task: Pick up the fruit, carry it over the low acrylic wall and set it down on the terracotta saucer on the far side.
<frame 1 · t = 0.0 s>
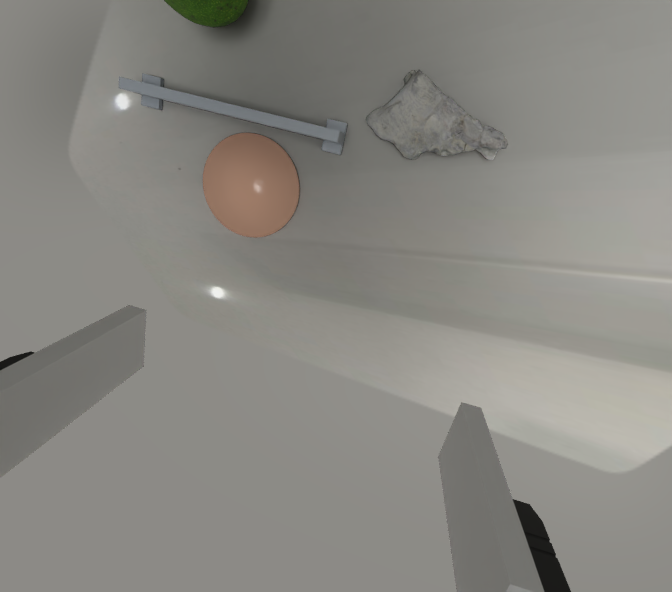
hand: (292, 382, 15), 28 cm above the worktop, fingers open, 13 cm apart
acrylic wall: (243, 114, 38), on the worktop
stone: (430, 126, 36), on the worktop
saucer: (251, 187, 41), on the worktop
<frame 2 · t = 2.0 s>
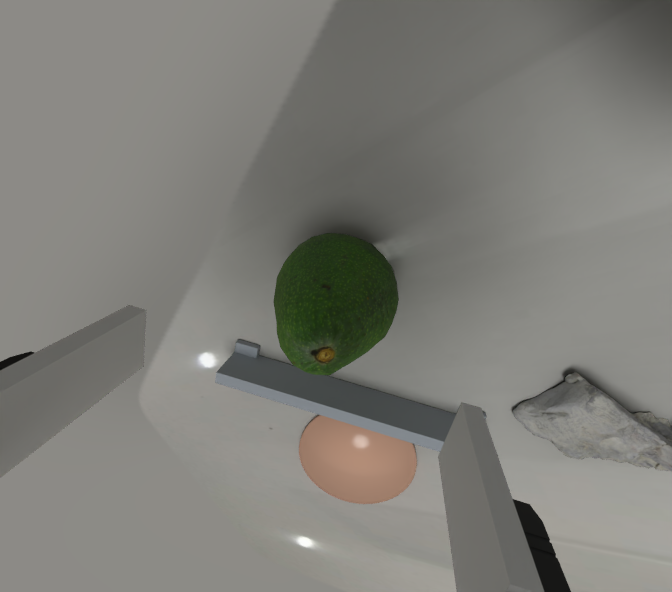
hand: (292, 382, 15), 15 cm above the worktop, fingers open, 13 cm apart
acrylic wall: (354, 388, 32), on the worktop
stone: (592, 413, 30), on the worktop
saucer: (356, 455, 35), on the worktop
fruit: (347, 273, 29), on the worktop
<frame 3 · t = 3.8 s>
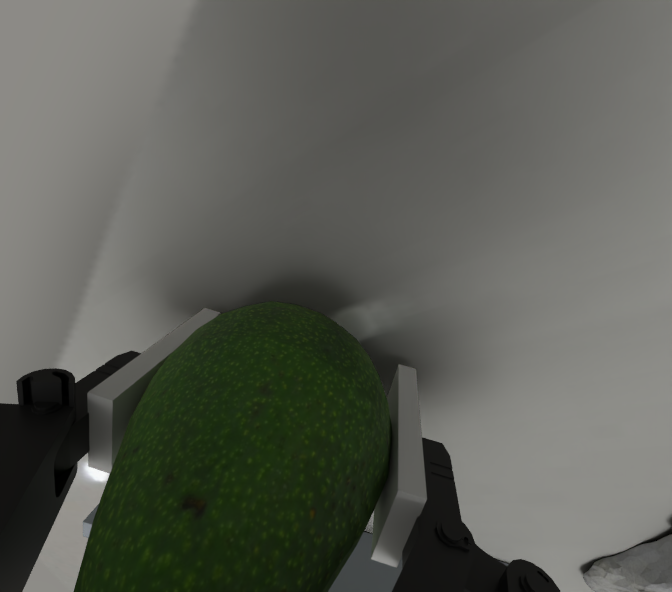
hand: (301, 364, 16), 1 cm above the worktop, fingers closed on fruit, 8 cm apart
acrylic wall: (323, 525, 20), on the worktop
fruit: (306, 353, 17), on the worktop, touching gripper
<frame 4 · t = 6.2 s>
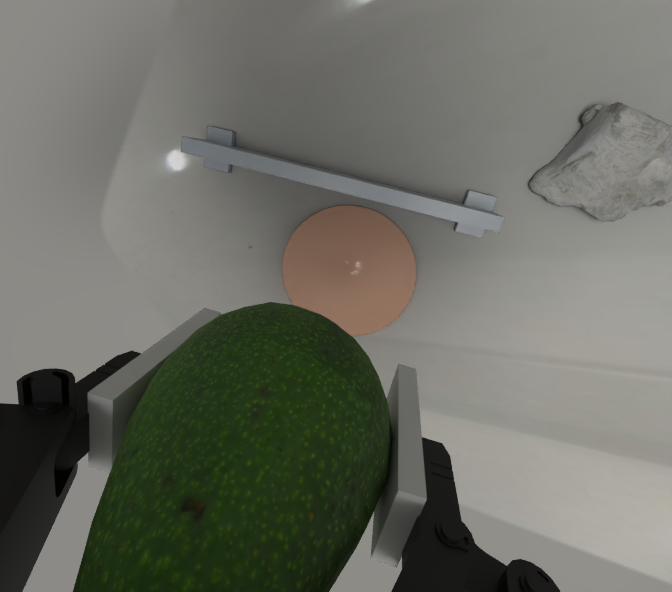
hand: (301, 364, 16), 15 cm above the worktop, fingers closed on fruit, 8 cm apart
acrylic wall: (344, 181, 28), on the worktop
stone: (624, 168, 25), on the worktop
saucer: (348, 273, 30), on the worktop
fruit: (306, 354, 17), point 14 cm above the worktop, touching gripper
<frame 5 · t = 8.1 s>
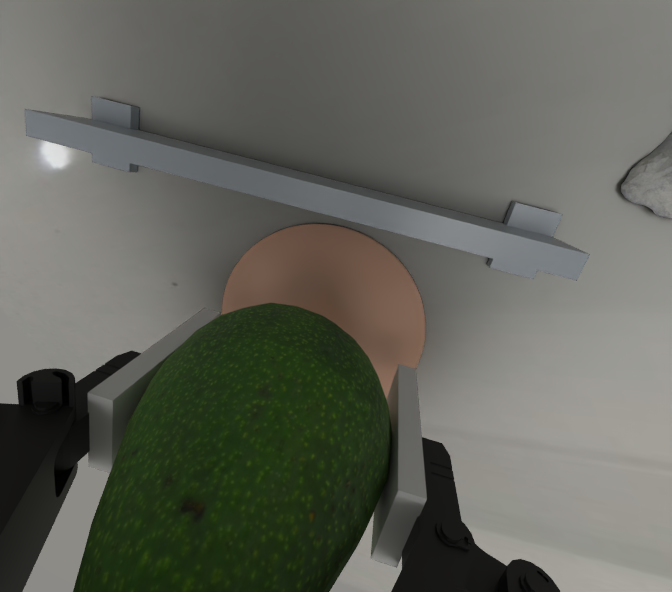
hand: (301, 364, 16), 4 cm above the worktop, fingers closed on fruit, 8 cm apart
acrylic wall: (312, 185, 18), on the worktop
saucer: (321, 325, 20), on the worktop
fruit: (306, 354, 17), point 3 cm above the worktop, touching gripper
when the fingers open (2 cm above the worktop, at t = 9.0 s): fruit stays where it is, resting on saucer.
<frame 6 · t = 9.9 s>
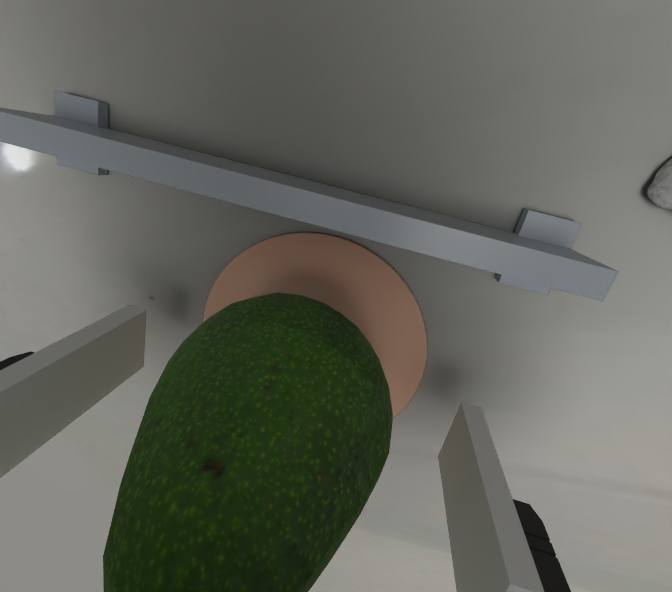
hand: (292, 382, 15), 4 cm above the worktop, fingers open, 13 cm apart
acrylic wall: (300, 190, 16), on the worktop
saucer: (311, 343, 18), on the worktop
fruit: (310, 344, 18), resting on saucer
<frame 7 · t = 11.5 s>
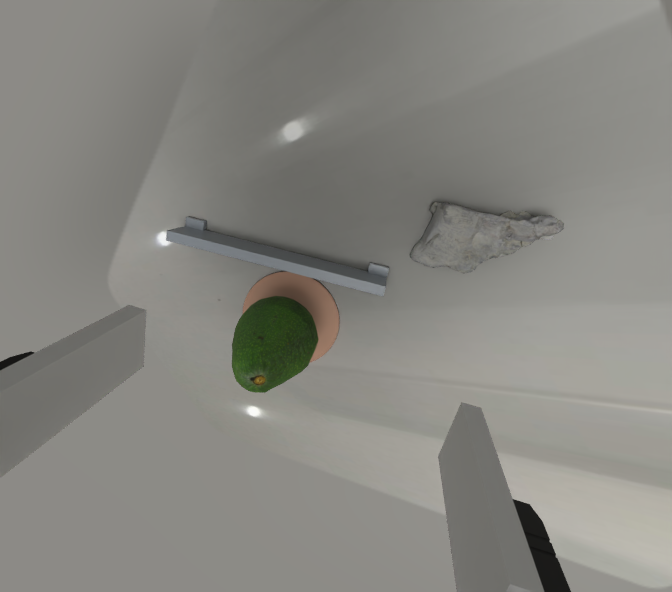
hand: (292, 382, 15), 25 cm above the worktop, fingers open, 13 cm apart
acrylic wall: (284, 254, 39), on the worktop
stone: (471, 233, 36), on the worktop
saucer: (290, 318, 41), on the worktop
fruit: (290, 318, 41), resting on saucer
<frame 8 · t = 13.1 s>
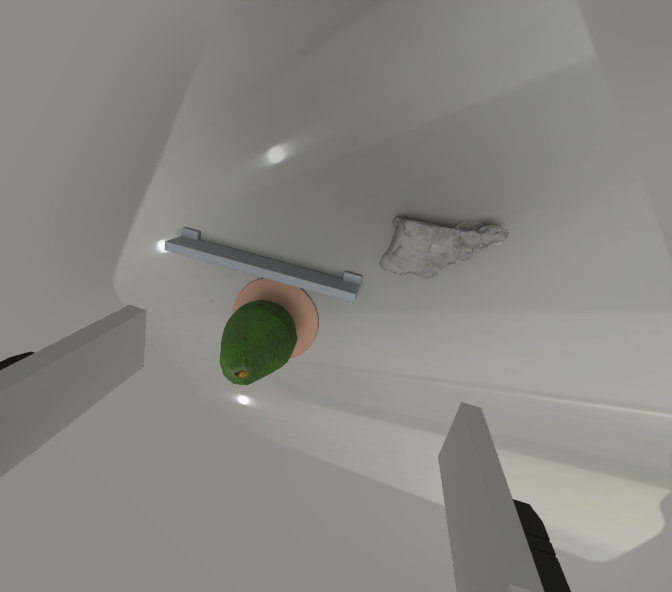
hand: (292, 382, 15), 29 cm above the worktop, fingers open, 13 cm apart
acrylic wall: (269, 262, 44), on the worktop
stone: (433, 242, 41), on the worktop
saucer: (275, 319, 46), on the worktop
fruit: (275, 319, 46), resting on saucer
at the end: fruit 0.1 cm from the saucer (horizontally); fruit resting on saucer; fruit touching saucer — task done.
